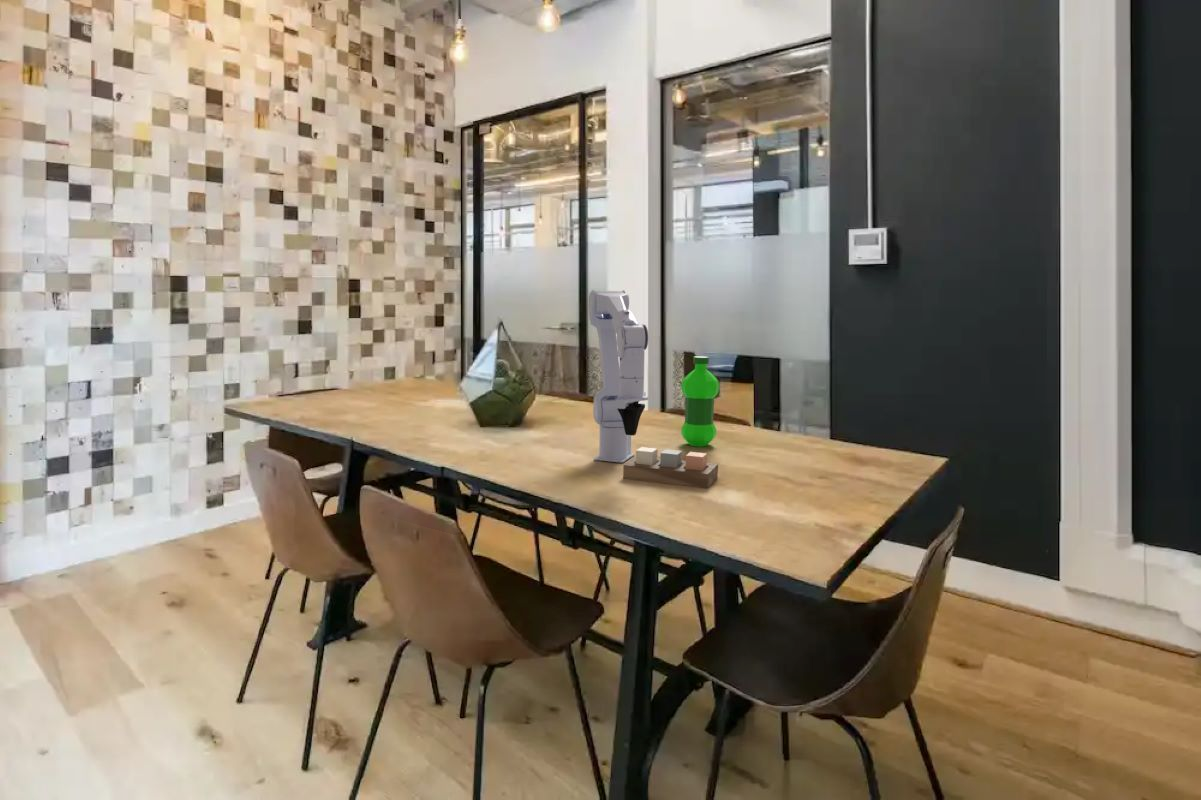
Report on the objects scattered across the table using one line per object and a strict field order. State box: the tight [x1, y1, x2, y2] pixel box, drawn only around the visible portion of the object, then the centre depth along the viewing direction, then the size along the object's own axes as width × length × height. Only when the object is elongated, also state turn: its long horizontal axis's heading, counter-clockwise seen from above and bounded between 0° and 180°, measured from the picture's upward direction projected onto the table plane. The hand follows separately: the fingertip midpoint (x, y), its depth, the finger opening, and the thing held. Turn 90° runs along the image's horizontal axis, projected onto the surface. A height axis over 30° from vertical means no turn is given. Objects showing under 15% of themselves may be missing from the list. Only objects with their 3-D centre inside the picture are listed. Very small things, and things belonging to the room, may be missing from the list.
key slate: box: [659, 449, 683, 468], centre depth 166 cm, size 4×4×4 cm
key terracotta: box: [685, 451, 708, 471], centre depth 164 cm, size 4×4×4 cm
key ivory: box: [635, 446, 658, 465], centre depth 168 cm, size 4×4×4 cm
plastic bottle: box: [680, 355, 720, 447], centre depth 201 cm, size 10×10×25 cm
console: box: [622, 456, 719, 489], centre depth 167 cm, size 10×20×3 cm, turn 68°
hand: (630, 434), depth 167 cm, fingers closed
